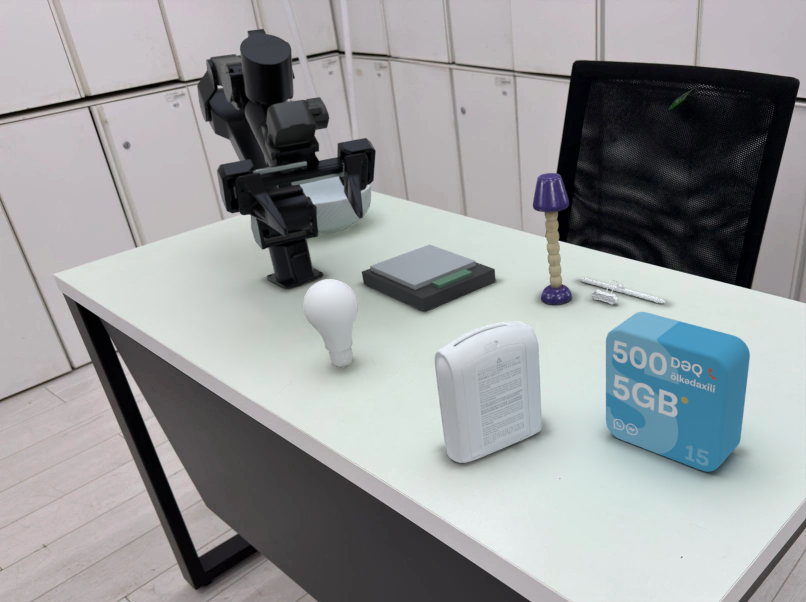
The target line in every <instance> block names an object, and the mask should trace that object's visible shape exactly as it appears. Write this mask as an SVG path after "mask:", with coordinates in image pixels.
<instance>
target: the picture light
mask: <svg viewBox="0 0 806 602" xmlns="http://www.w3.org/2000/svg"><path fill="white" fill-rule="evenodd" d="M579 280H580V281H581V282H583V283H585V284H589V285H593V286H597V287H600V288H603V289H606V291H602V290H600V289H596V290H594V291H592V292H591V293H590V295H591V297H592V298H593V299H594V300H595V301H601V302H605V303H608V304H609V305H614V304H616V303H618V302H619V301H620V298H619V297H618V296H617V294H616V293H613V292H614V291H615V292H618V293H623V294H626V295H629V296H632V297H636V298H640V299H643V300H646V301H650V302H655V303H657V304H665V303H666V301H665V300H664V299H663V298H660V297H658V296H654V295H650V294H646V293H642V292H639V291H635V290H631V289H628V288H626V286H625V285H624V283H623V282H622V281H617V280H615V279H613V280H611V281H609V283H606V282H603V281H599V280H595V279H591V278H589V277H579ZM613 282H616V283H614V284H612V283H613ZM619 283H620V284H619ZM608 290H611V292H610V293H609V292H608Z"/></svg>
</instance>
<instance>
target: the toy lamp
mask: <svg viewBox="0 0 806 602" xmlns="http://www.w3.org/2000/svg"><path fill="white" fill-rule="evenodd" d="M569 200H570V199H569V197H568V192H567V190H566V187H565V184H564V180H563V178H562V176H561V175H560V174H559V173H557V172H547V173H542V174H540V175H539V176H538V177H537V179H536V183H535V189H534V195H533V200H532V208H533V210H534V211H536V212H541V213H544V218H545V221H544V222H545V223H544V226H545V230H546V233H545V239H546V242H547V244H546V251H547V263H548V273H549V284H548V285H546V286H545V287H544V289H543V290H542V292H541V295H540V300H541V302H543V303H545V304H547V305H562V304H565V303H568V302H569V301H572V298H573V294H572V291H571V289H570V287H568V286H567V285H565V284H563V277H562V265H561V262H562V257H561V254H560V251H561V245H560V242H559V240H560V233H559V230H558V229H559V221H558V216H559V212H560V211H564V210H566V209H567V208H568V207H569V206H570V201H569Z"/></svg>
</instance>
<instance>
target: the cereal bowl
mask: <svg viewBox="0 0 806 602" xmlns="http://www.w3.org/2000/svg"><path fill="white" fill-rule="evenodd" d="M300 186H301V187H302V188H303V192H304V193H305V195H306V197H307V196H309V197H310V198H311V200H312V202H313V204H314V205H316V207H317V225H318V232H319V233H318V235H327V234H335V233H338V232H341V231H344V230H346V229H348V228H349V227H350V226H351V225H353V224H355V223H356V222H358V221H360V219H359V217H358V216H357V215H356V214H355V212H354V210H353V208H352V206H351V205H350V203H349V201H348V199H347V197H346V195H345V193H344V186H343V185H342V183H341V181H340V179H339V176H338V177H333V178H328V179H323V180H318V181H315V182H310V183H305V184H300ZM361 198H362V207H363V217H364V216H366V214H367V213H368V211H369V209H370V207H371V202H372V188H371V184H370V185H367V187H366V189H364V190H362V191H361Z"/></svg>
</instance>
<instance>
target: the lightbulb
mask: <svg viewBox="0 0 806 602" xmlns="http://www.w3.org/2000/svg"><path fill="white" fill-rule="evenodd" d="M358 301H359V300H358V297H357V295H356V293H355V292H354V290H353V288H351V286H349V284H347V283H345V281H341V280H338V279H333V278H325V279H321V280H319V281H317V282H315V283H313V284H312V285H311V286H310V287H309V288H308V289H307V291H306V292H305V293H304V297H303V301H302V311H303V314H304V317H305V319H306V320H307V321H308V323H309V324H310V326H312V328H313V329H314V330H315V331H317V333H318V334H319V335H320V337H321V339H322V341H323V344H324V347H325V349H326V350H327V351H328V355H329V358H330V361H331V364H332V365H333V366H335V367H338V368H342V369H344V368H346V367H348V366H349V365H350V364H351V363H352V362H353V360H354V357H353V349H352V347H353V329H354V328H353V327H354V323H355V321H356V319H357V316H358V311H359V302H358Z"/></svg>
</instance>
